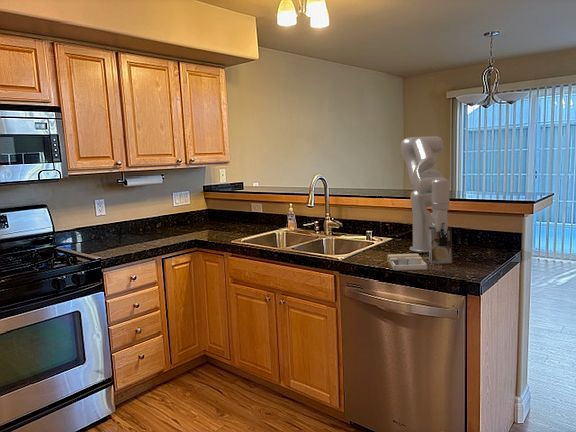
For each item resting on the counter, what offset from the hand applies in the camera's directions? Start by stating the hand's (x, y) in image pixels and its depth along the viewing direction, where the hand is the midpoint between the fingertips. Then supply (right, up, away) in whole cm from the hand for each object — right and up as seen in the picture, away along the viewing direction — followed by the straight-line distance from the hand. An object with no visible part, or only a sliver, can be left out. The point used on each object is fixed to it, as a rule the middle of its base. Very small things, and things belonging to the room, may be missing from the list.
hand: (439, 243), depth 202 cm
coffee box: (0, -9, +1) cm, 9 cm away
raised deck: (-15, -9, +2) cm, 18 cm away
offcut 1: (-19, -8, -4) cm, 21 cm away
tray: (-16, -10, -6) cm, 20 cm away
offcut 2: (-14, -8, -5) cm, 17 cm away
